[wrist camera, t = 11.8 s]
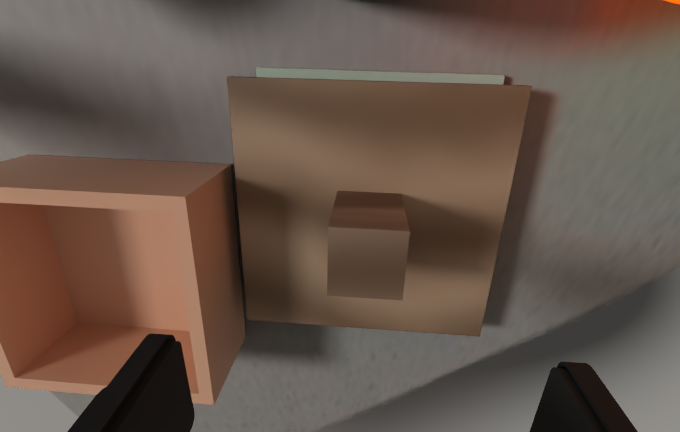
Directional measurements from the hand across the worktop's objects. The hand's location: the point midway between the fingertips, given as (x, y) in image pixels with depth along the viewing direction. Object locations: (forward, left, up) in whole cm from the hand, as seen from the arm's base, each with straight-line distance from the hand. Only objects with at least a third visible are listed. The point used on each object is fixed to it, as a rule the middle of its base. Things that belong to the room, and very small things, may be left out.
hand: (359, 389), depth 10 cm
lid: (+1, 0, -14) cm, 14 cm away
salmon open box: (+5, -15, -14) cm, 21 cm away
